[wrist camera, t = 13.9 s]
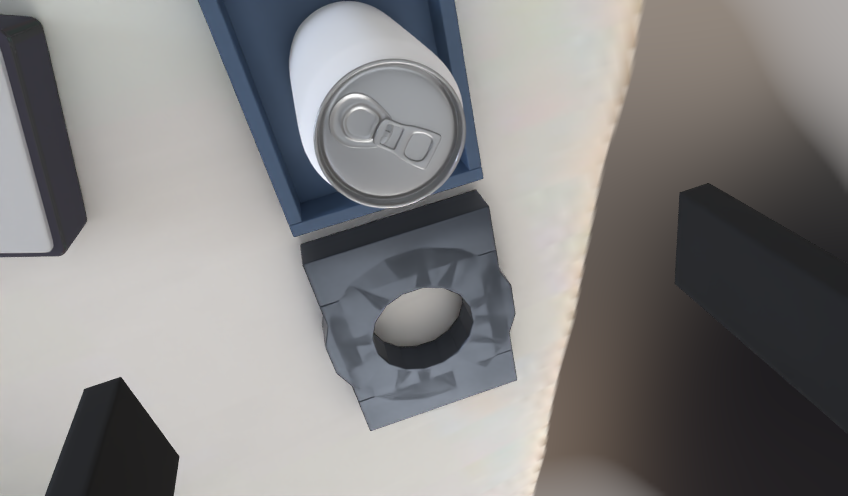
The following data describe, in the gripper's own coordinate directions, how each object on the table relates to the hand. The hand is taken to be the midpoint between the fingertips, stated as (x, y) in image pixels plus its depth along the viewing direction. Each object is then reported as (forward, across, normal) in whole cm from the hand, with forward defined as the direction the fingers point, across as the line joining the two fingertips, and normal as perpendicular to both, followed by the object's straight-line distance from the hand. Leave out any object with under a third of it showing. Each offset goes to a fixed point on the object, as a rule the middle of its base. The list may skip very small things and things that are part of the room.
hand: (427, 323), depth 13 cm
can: (+21, -2, -1) cm, 21 cm away
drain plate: (+22, -1, +17) cm, 28 cm away
